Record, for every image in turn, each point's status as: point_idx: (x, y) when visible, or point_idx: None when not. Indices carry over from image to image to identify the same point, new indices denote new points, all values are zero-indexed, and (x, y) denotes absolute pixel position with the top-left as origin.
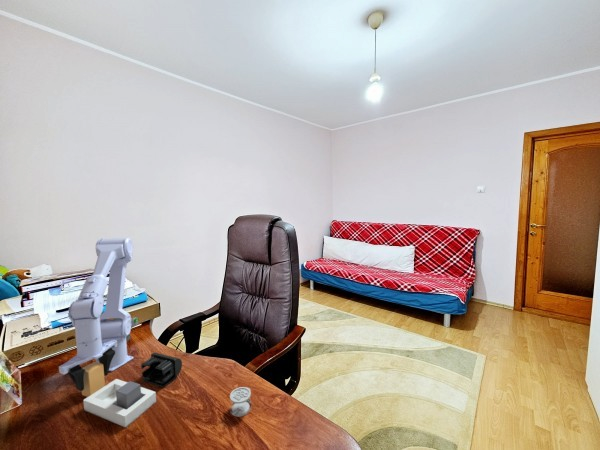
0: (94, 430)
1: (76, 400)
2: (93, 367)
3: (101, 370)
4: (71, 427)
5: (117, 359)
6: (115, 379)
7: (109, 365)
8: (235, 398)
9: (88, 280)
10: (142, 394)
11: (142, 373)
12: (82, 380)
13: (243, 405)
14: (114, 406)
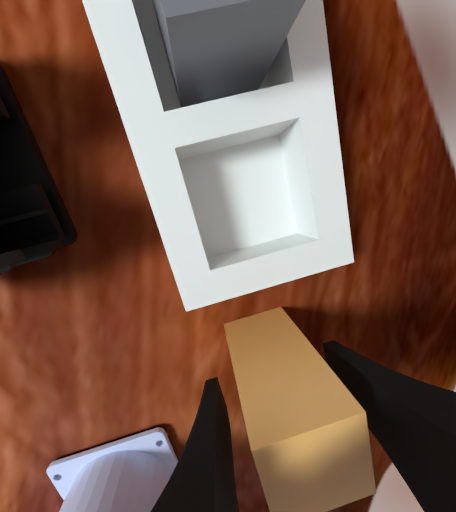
0: (352, 75)
1: (315, 336)
2: (315, 455)
3: (256, 403)
4: (385, 186)
5: (117, 488)
6: (192, 308)
7: (195, 428)
8: None
9: None
10: None
11: (48, 245)
12: (372, 374)
13: None
14: (294, 36)
